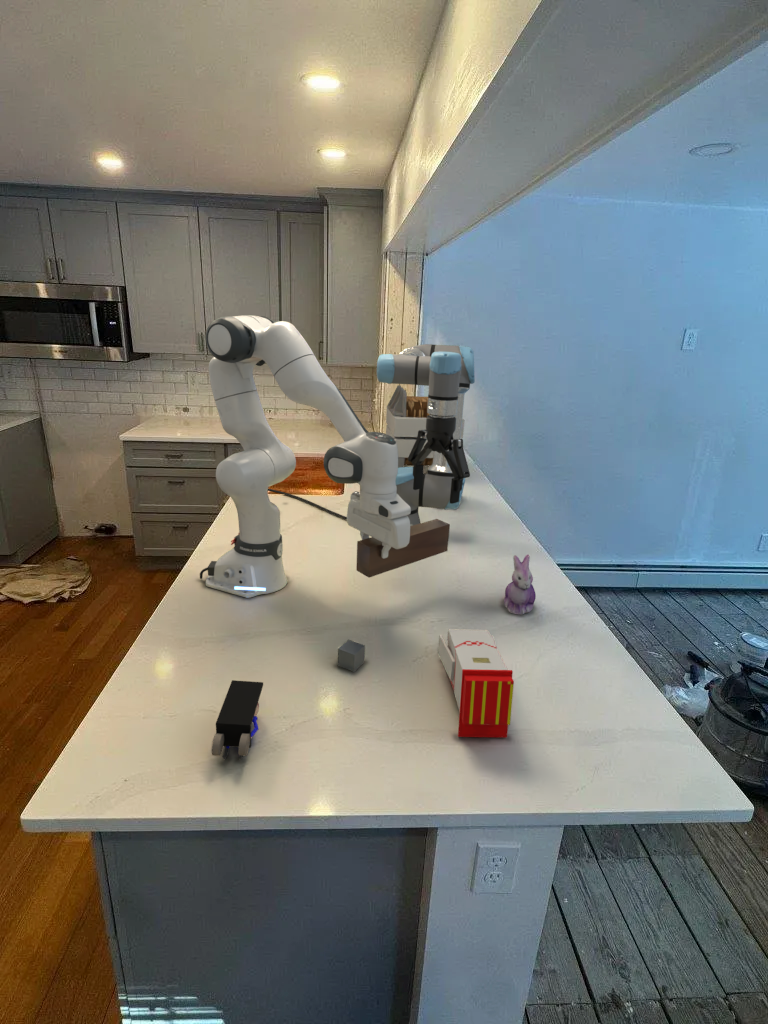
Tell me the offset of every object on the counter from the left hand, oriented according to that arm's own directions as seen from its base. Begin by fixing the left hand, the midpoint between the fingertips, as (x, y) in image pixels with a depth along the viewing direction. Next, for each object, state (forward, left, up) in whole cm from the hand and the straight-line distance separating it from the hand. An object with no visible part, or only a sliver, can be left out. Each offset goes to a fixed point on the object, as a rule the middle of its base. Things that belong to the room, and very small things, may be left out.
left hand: (375, 552), depth 141 cm
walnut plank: (+6, +8, -5) cm, 11 cm away
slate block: (+1, -23, -17) cm, 29 cm away
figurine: (+37, +15, -17) cm, 44 cm away
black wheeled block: (-12, -51, -17) cm, 55 cm away
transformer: (-12, +136, -17) cm, 138 cm away
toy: (+27, -25, -17) cm, 41 cm away
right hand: (+12, +16, +11) cm, 23 cm away
